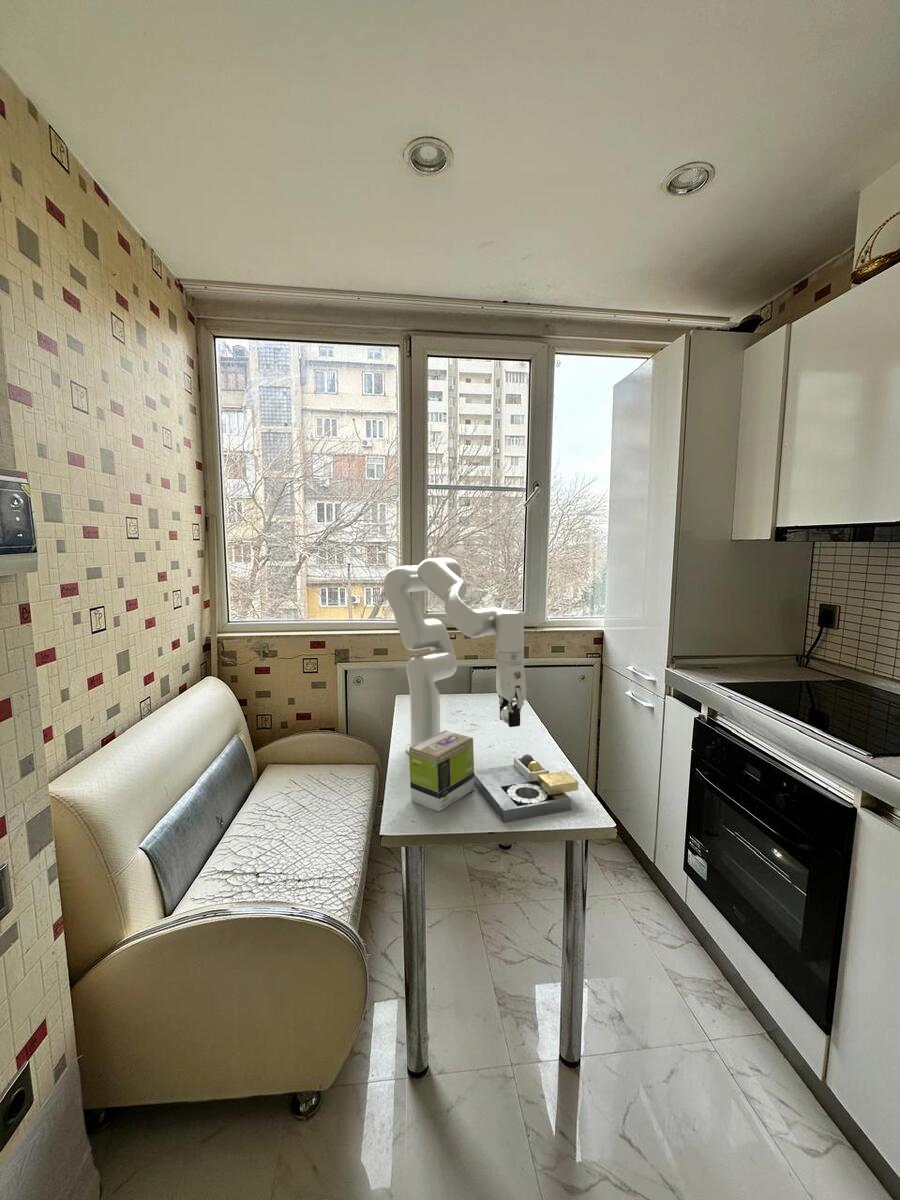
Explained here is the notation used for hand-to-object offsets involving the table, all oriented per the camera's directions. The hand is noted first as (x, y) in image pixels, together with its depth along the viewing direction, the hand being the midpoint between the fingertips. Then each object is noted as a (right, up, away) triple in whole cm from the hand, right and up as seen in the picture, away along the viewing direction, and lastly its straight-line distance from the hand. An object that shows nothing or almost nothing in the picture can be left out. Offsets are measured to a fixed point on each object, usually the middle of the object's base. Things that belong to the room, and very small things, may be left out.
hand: (509, 722), depth 134 cm
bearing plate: (+2, -18, -4) cm, 19 cm away
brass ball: (+7, -12, 0) cm, 14 cm away
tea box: (-18, -19, -4) cm, 26 cm away
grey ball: (+5, -12, +5) cm, 14 cm away
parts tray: (+6, -14, +3) cm, 16 cm away
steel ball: (0, +2, 0) cm, 2 cm away
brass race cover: (+12, -15, -7) cm, 20 cm away
